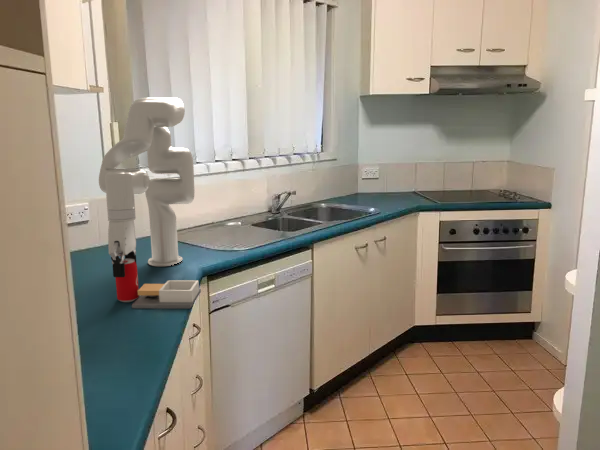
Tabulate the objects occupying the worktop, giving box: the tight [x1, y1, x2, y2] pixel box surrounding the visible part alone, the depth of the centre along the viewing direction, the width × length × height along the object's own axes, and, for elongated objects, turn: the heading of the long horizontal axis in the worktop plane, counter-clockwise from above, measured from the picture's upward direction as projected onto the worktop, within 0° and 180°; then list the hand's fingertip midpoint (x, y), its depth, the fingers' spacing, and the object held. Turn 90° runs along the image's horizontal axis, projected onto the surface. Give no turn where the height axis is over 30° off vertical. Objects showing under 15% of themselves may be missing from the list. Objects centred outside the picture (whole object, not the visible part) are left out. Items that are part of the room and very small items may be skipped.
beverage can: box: [114, 258, 140, 303], centre depth 150 cm, size 6×6×12 cm
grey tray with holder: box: [131, 279, 202, 310], centre depth 150 cm, size 14×17×4 cm
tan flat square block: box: [138, 283, 165, 297], centre depth 150 cm, size 6×6×2 cm
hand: (125, 272), depth 149 cm, fingers open, 9 cm apart
